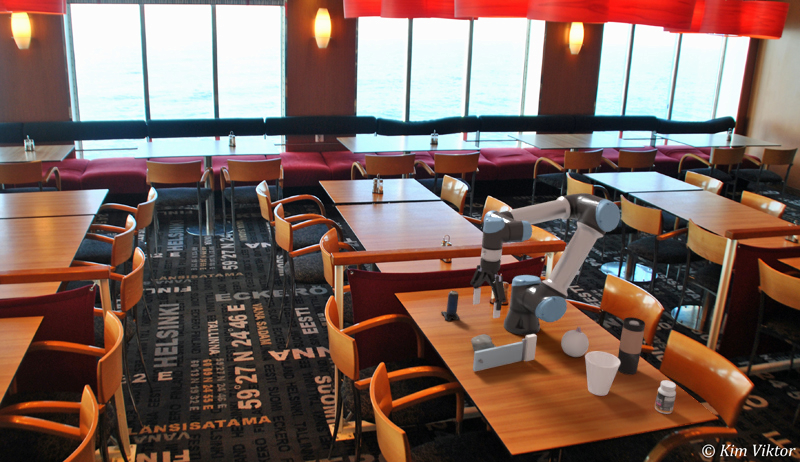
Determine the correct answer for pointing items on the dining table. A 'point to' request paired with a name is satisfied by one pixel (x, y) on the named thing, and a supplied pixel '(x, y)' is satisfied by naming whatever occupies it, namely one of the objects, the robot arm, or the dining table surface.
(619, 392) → the dining table surface
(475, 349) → the stone
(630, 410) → the dining table surface
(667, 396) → the pill bottle
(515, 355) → the door
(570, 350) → the ornament
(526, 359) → the tilted pink plank
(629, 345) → the travel mug
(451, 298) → the blue column with base
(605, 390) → the cup
